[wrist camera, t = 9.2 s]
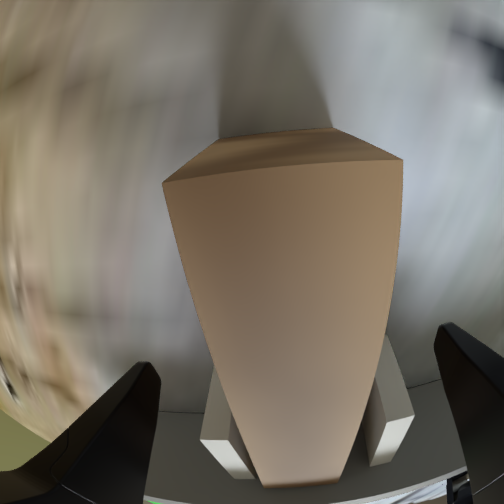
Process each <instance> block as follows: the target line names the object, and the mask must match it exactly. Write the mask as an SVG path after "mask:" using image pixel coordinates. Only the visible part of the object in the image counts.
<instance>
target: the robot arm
mask: <svg viewBox="0 0 504 504" xmlns="http://www.w3.org/2000/svg"><path fill="white" fill-rule="evenodd" d="M434 352H435V355H436V359H437V363H438V367H439V371H440V375H441V379H442V383H443V387H444V391H445V394H446V397H447V400H448V403H449V406H450V409H451V412H452V415H453V419H454V422H455V425H456V429H457V432H458V435H459V439H460V443H461V446H462V450H463V454H464V458H465V462H466V466H467V471H465V472H462V473H460V474H458V475H455V476H453V477H451V478H448V479H447V485H446V489H447V503H448V504H504V358H503V357H502V356H500V355H499V354H497V353H496V352H494V351H493V350H492V349H490V348H489V347H487V346H486V345H485V344H483V343H482V342H480V341H479V340H477V339H476V338H474V337H473V336H471V335H470V334H469V333H467V332H466V331H464V330H463V329H461V328H460V327H458V326H457V325H455V324H454V323H452V322H448V323H445V324H441V325H440V326H439V327H438V331H437V334H436V338H435V341H434ZM160 389H161V379H160V377H159V375H158V373H157V372H156V370H155V369H154V367H153V366H152V364H151V363H150V362H137V363H136V364H135V365H134V366H133V367H132V368H131V369H130V370H129V371H128V372H126V373H125V374H124V375H123V376H122V377H121V378H120V379H119V380H118V381H117V382H116V383H115V384H114V385H113V386H112V387H111V388H110V389H108V390H107V391H106V392H105V393H104V394H103V395H102V396H101V397H100V398H99V399H98V400H97V401H96V402H95V403H94V404H93V405H92V406H90V407H89V408H88V409H87V410H86V411H85V412H84V413H83V414H82V415H81V416H80V417H79V418H78V419H77V420H76V421H75V422H73V423H72V424H71V425H70V426H69V428H67V429H66V430H65V431H64V432H63V433H62V434H61V435H60V436H58V437H57V438H56V439H55V440H54V441H53V442H52V443H51V444H49V445H48V446H47V447H46V448H45V449H43V450H42V451H41V452H39V453H38V454H37V455H36V456H34V457H33V458H31V459H30V460H29V461H28V462H26V463H25V464H24V465H22V466H21V467H19V468H17V469H14V470H11V471H1V472H0V504H143V499H144V492H145V486H146V480H147V475H148V469H149V463H150V458H151V452H152V447H153V442H154V437H155V432H156V426H157V420H158V410H159V399H160ZM467 479H469V480H470V481H467Z"/></svg>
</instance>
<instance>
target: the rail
mask: <svg viewBox="0 0 504 504" xmlns="http://www.w3.org/2000/svg"><path fill="white" fill-rule="evenodd" d="M162 187H163V191H164V195H165V199H166V203H167V207H168V212H169V216H170V220H171V223H172V227H173V231H174V235H175V239H176V243H177V246H178V250H179V254H180V257H181V261H182V264H183V268H184V271H185V275H186V278H187V282H188V285H189V288H190V292H191V295H192V298H193V302H194V305H195V308H196V311H197V315H198V318H199V321H200V324H201V327H202V330H203V333H204V336H205V339H206V342H207V345H208V348H209V351H210V354H211V357H212V360H213V363H214V365H215V368H216V371H217V374H218V377H219V379H220V382H221V385H222V388H223V390H224V393H225V396H226V398H227V401H228V404H229V406H230V409H231V411H232V414H233V417H234V419H235V422H236V424H237V427H238V429H239V432H240V434H241V436H242V439H243V441H244V444H245V446H246V448H247V451H248V453H249V456H250V458H251V460H252V463H253V465H254V467H255V469H256V472H257V474H258V476H259V478H260V481H261V483H262V485H263V487H264V488H291V487H306V486H317V485H326V484H334V483H338V481H339V478H340V476H341V474H342V471H343V469H344V466H345V464H346V461H347V459H348V456H349V454H350V451H351V449H352V446H353V443H354V440H355V438H356V435H357V432H358V429H359V426H360V423H361V420H362V417H363V414H364V411H365V408H366V405H367V401H368V398H369V395H370V391H371V388H372V384H373V381H374V377H375V373H376V369H377V365H378V361H379V357H380V353H381V349H382V344H383V340H384V335H385V330H386V326H387V320H388V315H389V310H390V304H391V298H392V292H393V286H394V279H395V272H396V264H397V256H398V247H399V236H400V225H401V210H402V190H403V160H402V159H400V158H398V157H396V156H394V155H392V154H390V153H388V152H386V151H384V150H382V149H380V148H378V147H376V146H374V145H372V144H370V143H367V142H365V141H363V140H361V139H358V138H356V137H354V136H352V135H349V134H347V133H345V132H342V131H340V130H337V129H335V128H319V129H304V130H292V131H281V132H271V133H262V134H253V135H245V136H238V137H231V138H224V139H218V140H217V141H216V142H214V143H213V144H211V145H210V146H209V147H207V148H206V149H205V150H203V151H202V152H201V153H199V154H198V155H197V156H195V157H194V158H193V159H191V160H190V161H189V162H188V163H186V164H185V165H184V166H182V167H181V168H180V169H179V170H177V171H176V172H175V173H174V174H172V175H171V176H170V177H169V178H167V179H166V180H165V181H164V182H162Z"/></svg>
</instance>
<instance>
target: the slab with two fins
mask: <svg viewBox="0 0 504 504" xmlns="http://www.w3.org/2000/svg"><path fill="white" fill-rule="evenodd" d="M465 471H467V466H466V462H465V458H464V454H463V450H462V446H461V443H460V439H459V435H458V432H457V429H456V425H455V422H454V419H453V415H452V412H451V409H450V406H449V403H448V400H447V397H446V394H445V391H444V387H443V383H442V379H441V380H437V381H434V382H431V383H428V384H424V385H421V386H417V387H414V388H410V389H406V386H405V383H404V380H403V377H402V374H401V371H400V368H399V366H398V363H397V360H396V357H395V354H394V352H393V349H392V346H391V344H390V341H389V339H388V336H387V335H384V340H383V344H382V349H381V353H380V357H379V361H378V365H377V369H376V373H375V377H374V381H373V384H372V388H371V391H370V395H369V398H368V401H367V405H366V408H365V411H364V414H363V417H362V420H361V423H360V426H359V429H358V432H357V435H356V438H355V440H354V443H353V446H352V449H351V451H350V454H349V456H348V459H347V461H346V464H345V466H344V469H343V471H342V474H341V476H340V478H339V481H338V483H334V484H326V485H317V486H306V487H291V488H264V487H263V485H262V483H261V481H260V478H259V476H258V474H257V472H256V469H255V467H254V465H253V463H252V460H251V458H250V456H249V453H248V451H247V448H246V446H245V444H244V441H243V439H242V436H241V434H240V432H239V429H238V427H237V424H236V422H235V419H234V417H233V414H232V411H231V409H230V406H229V404H228V401H227V398H226V396H225V393H224V390H223V388H222V385H221V382H220V379H219V377H218V374H217V371H216V368H215V365H214V368H213V373H212V378H211V383H210V388H209V393H208V398H207V403H206V409H205V414H203V413H174V412H158V420H157V426H156V432H155V437H154V442H153V447H152V452H151V458H150V463H149V469H148V475H147V480H146V486H145V492H144V499H143V500H147V501H152V502H156V503H161V504H363V503H368V502H373V501H377V500H381V499H386V498H389V497H393V496H397V495H401V494H404V493H408V492H411V491H414V490H417V489H420V488H423V487H426V486H429V485H432V484H435V483H438V482H440V481H443V480H445V479H448V478H451V477H453V476H455V475H458V474H460V473H462V472H465Z"/></svg>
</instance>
